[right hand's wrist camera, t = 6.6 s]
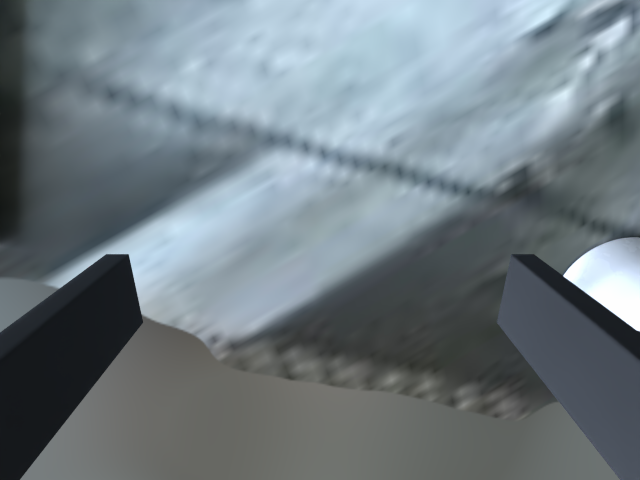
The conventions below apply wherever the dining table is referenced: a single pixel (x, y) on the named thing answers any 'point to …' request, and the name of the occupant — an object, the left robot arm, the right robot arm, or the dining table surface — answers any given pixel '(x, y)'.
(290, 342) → the dining table surface
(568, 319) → the right robot arm
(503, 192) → the dining table surface
